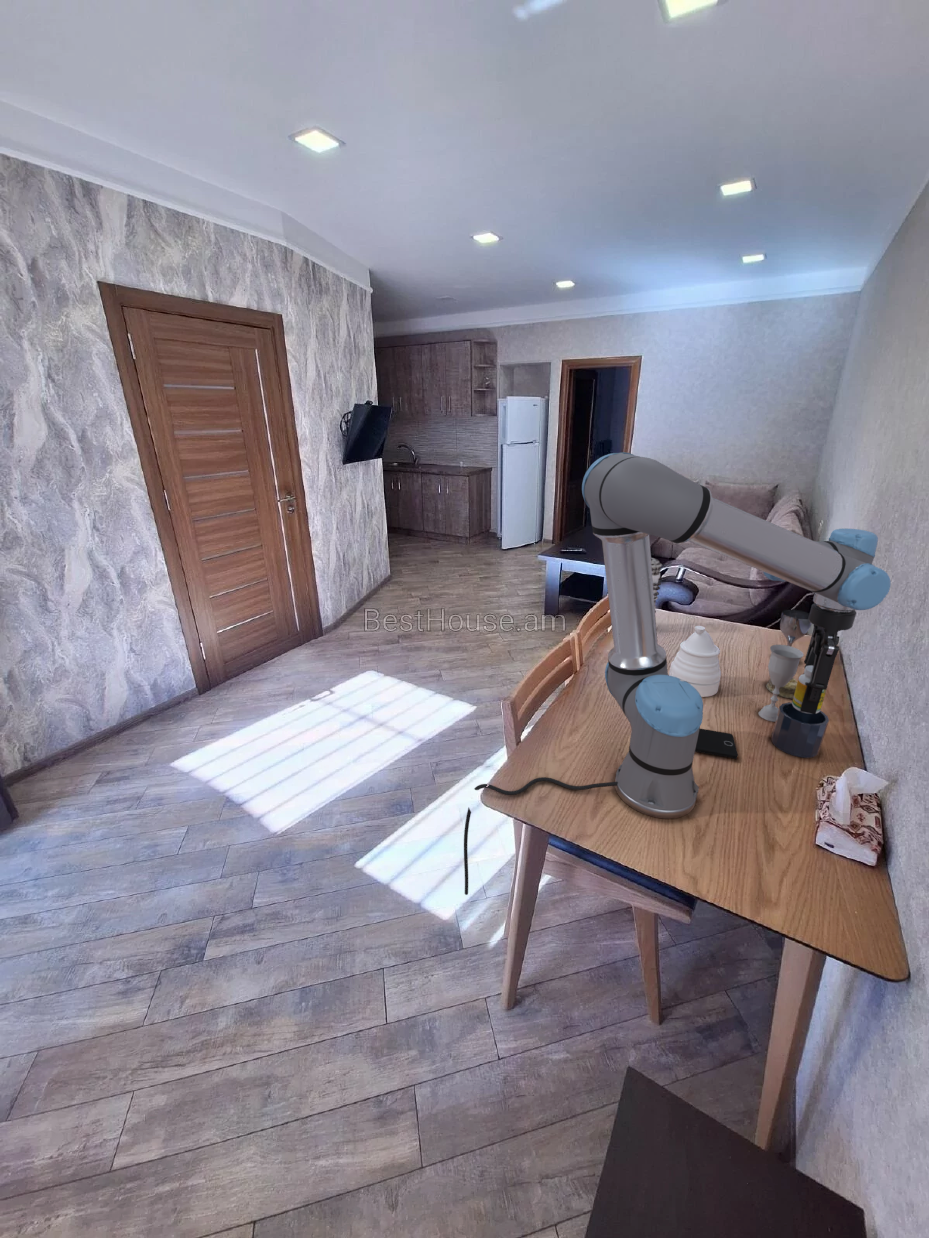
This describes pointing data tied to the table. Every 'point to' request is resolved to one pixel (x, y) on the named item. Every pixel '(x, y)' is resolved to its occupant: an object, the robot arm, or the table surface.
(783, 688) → the cake
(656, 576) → the decorative candle
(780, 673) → the chalice
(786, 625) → the wine glass
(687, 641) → the honey pot
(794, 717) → the cup
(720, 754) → the cell phone
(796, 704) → the supplement bottle
